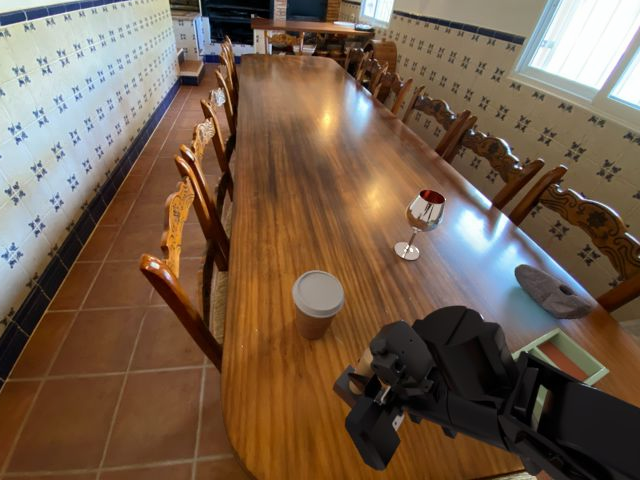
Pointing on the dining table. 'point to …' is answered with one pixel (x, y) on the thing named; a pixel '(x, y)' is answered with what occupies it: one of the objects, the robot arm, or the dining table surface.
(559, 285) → the perforated stone tool
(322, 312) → the disposable coffee cup
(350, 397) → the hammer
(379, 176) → the dining table surface
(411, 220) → the wineglass
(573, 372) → the divided tray
